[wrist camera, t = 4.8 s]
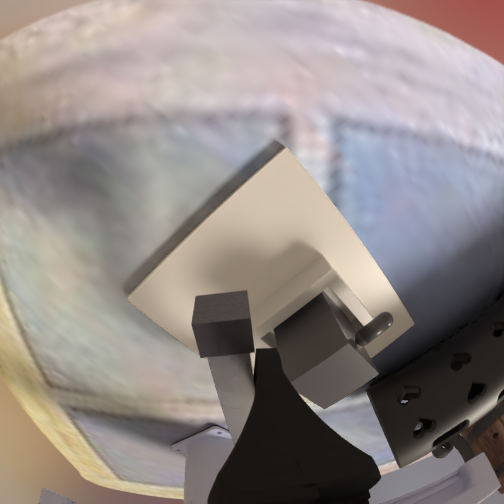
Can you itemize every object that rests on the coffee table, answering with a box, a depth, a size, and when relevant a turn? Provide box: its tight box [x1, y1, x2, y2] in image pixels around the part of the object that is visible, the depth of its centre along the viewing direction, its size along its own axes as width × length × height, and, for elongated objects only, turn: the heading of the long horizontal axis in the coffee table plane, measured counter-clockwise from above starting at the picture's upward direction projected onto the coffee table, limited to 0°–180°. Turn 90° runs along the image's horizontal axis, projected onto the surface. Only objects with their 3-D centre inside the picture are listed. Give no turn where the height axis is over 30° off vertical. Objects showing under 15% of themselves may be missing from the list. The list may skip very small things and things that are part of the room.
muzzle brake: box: [366, 291, 504, 468], centre depth 19 cm, size 10×28×10 cm, turn 118°
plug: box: [273, 291, 393, 409], centre depth 17 cm, size 4×7×6 cm, turn 132°
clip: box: [191, 290, 255, 446], centre depth 15 cm, size 2×12×8 cm, turn 5°
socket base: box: [127, 147, 415, 402], centre depth 19 cm, size 18×14×3 cm
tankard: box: [432, 399, 504, 494], centre depth 25 cm, size 24×17×20 cm
